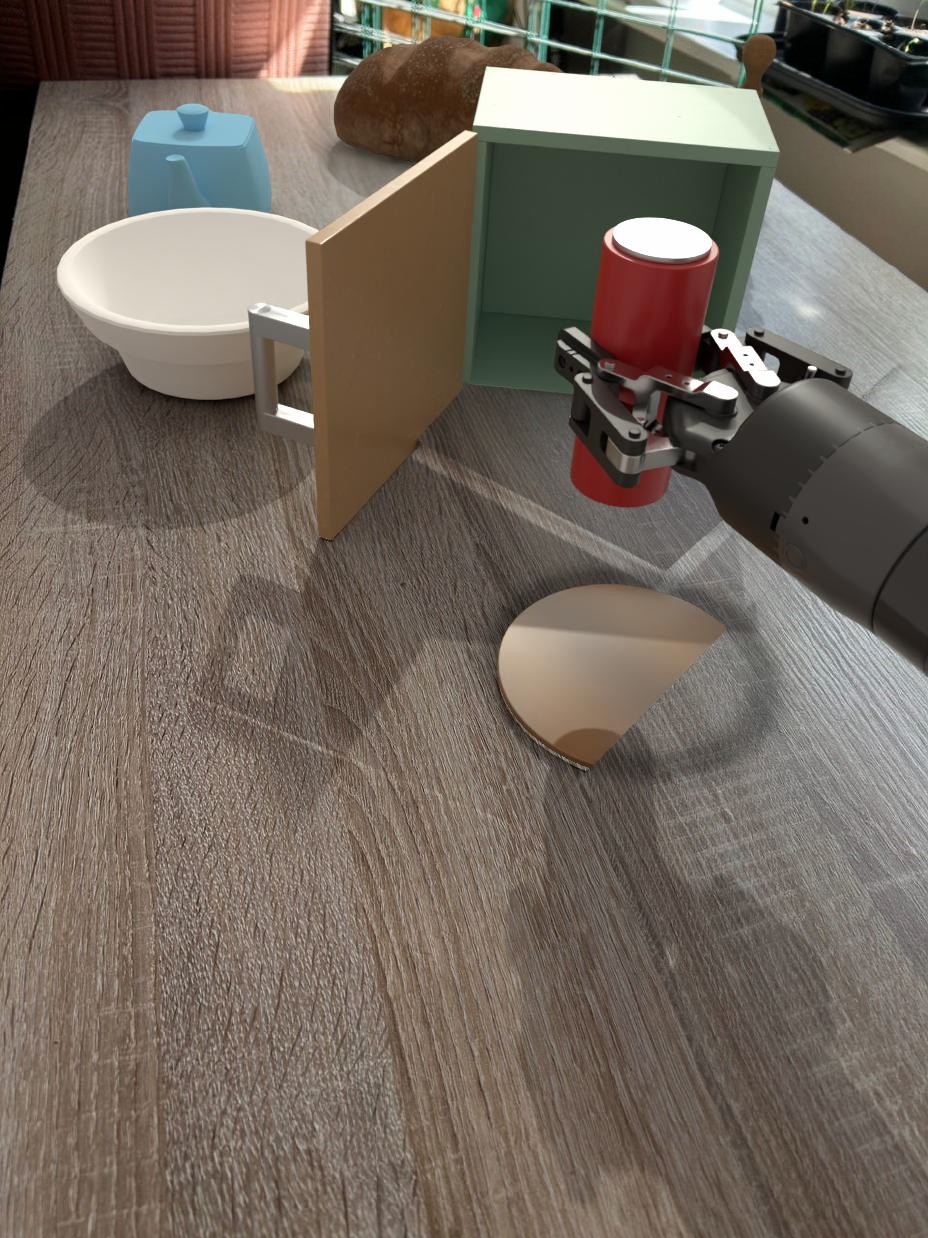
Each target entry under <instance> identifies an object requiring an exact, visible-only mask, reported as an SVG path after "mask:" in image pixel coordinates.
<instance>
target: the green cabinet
mask: <svg viewBox="0 0 928 1238" xmlns="http://www.w3.org/2000/svg"><path fill="white" fill-rule="evenodd" d="M472 132H475V133H478V144H477V160H476V176H475V191H474V207H473V223H472V238H471V254H470V269H469V285H468V301H467V316H466V332H465V348H464V363H463V379H462V385H463V384H464V385H475V386H486V387H494V388H495V387H496V388H506V389H517V390H528V391H539V392H549V393H558V394H559V393H561V394H570V395H573V392H574V388H573V385H572V384H571V383H570V382H569V381H568V380H566V379H565V378H564V377H563V376H561V375H560V374H559V373H557V372H556V370H555V368H554V360H555V352H556V344H557V340H558V333H559V331H560V330H562V329H566V328H570V327H576V328H577V329H579V330H580V331H582V332H583V333H584V334H586V335H587V336H588V337H589V335H590V327H591V320H592V313H593V306H594V299H595V292H596V285H597V278H598V271H599V264H600V257H601V250H602V243H603V237H604V235H605V234H606V232H607V231H608V230H610V229H611V228H613V227H615V226H617V225H619V224H620V223H622V222H625V221H628V220H632V219H639V218H661V219H669V220H675V221H679V222H683V223H686V224H689V225H692V226H694V227H696V228H698V229H700V230H702V231H703V232H705V233H706V234H707V235H708V236H709V237H710V238H711V239H712V240H713V241H714V242H715V243H716V244H717V246H718V248H719V257H718V261H717V266H716V271H715V275H714V280H713V284H712V289H711V293H710V298H709V303H708V307H707V312H706V316H705V321H704V325H706V326H707V327H709V328H710V329H712V330H715V329H725V330H729V331H731V332H733V333H734V334H735V333H736V329H737V325H738V322H739V317H740V313H741V309H742V306H743V302H744V298H745V293H746V290H747V285H748V281H749V278H750V275H751V274H750V273H751V269H752V267H753V266H752V264H753V261H754V258H755V255H756V250H757V246H758V242H759V237H760V234H761V230H762V227H763V222H764V218H765V214H766V210H767V206H768V202H769V197H770V195H771V191H772V188H773V183H774V179H775V175H776V171H777V166H778V163H779V158H780V156H781V151H780V148H779V146H778V143H777V140H776V138H775V135H774V133H773V130H772V128H771V125H770V122H769V120H768V117H767V114H766V111H765V109H764V107H763V104H762V102H761V98H760V99H759V96H758V94H757V91H756V90H750V89H739V87H737V88H736V87H725V86H715V85H714V86H713V85H704V84H703V85H702V84H690V83H679V82H670V81H669V82H667V81H659V80H658V81H657V80H647V79H633V78H622V77H615V78H613V76H612V77H610V76H600V75H588V74H577V73H566V72H564V73H555V72H544V71H532V70H521V69H509V68H498V67H486V69H485V74H484V78H483V82H482V87H481V91H480V96H479V100H478V105H477V109H476V114H475V118H474V122H473V130H472ZM735 335H736V334H735ZM701 375H702V371H699V372H695V373H693V376H692V378H693V379H696V378H701Z"/></svg>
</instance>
